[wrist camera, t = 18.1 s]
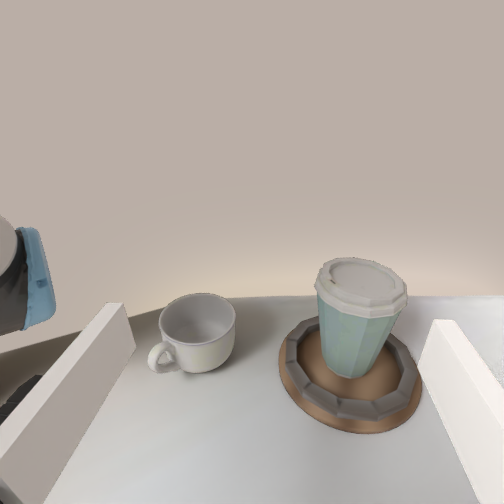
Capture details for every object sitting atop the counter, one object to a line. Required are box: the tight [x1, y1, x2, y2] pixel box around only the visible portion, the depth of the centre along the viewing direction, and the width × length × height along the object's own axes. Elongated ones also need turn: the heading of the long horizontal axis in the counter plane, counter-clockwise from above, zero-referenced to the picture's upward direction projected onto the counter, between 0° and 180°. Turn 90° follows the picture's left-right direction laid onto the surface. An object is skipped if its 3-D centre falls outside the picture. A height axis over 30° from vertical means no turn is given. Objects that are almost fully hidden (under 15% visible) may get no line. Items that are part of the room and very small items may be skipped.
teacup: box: [147, 293, 236, 373], centre depth 42 cm, size 14×11×8 cm
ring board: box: [279, 316, 422, 434], centre depth 42 cm, size 19×19×2 cm
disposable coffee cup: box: [314, 257, 407, 379], centre depth 38 cm, size 11×11×15 cm
